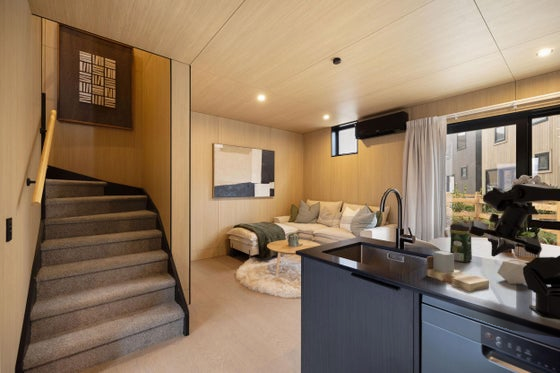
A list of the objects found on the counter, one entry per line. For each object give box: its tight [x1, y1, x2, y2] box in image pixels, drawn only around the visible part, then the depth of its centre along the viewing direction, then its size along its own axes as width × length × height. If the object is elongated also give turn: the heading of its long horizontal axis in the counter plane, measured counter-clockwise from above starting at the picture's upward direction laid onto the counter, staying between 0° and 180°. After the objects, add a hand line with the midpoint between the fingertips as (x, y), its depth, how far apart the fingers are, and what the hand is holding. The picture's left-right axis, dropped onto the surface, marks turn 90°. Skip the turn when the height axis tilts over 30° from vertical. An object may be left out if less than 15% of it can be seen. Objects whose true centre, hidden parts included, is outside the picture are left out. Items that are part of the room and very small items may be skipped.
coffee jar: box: [449, 221, 473, 263], centre depth 125 cm, size 10×8×19 cm
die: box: [496, 260, 526, 285], centre depth 96 cm, size 8×9×10 cm
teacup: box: [506, 258, 529, 267], centre depth 104 cm, size 10×8×5 cm
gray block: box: [432, 250, 455, 273], centre depth 102 cm, size 5×5×7 cm
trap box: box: [426, 255, 490, 292], centre depth 97 cm, size 17×10×8 cm, turn 21°
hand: (492, 255), depth 90 cm, fingers closed
